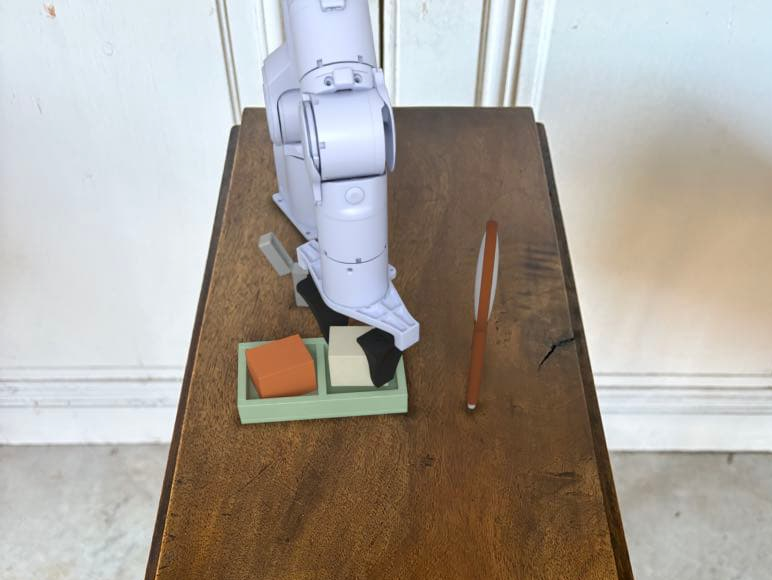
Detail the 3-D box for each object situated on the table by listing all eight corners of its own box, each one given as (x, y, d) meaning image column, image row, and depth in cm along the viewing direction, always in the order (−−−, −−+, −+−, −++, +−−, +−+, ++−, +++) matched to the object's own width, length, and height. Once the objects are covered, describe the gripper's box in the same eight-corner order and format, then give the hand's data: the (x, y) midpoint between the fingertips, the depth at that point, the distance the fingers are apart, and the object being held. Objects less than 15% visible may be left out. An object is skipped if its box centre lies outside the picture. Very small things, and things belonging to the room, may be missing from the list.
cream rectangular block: (388, 356, 79) (387, 325, 76) (388, 386, 77) (387, 356, 73) (332, 356, 79) (329, 325, 75) (331, 386, 77) (328, 356, 73)
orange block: (302, 363, 80) (298, 333, 77) (317, 390, 78) (313, 360, 75) (250, 380, 79) (244, 350, 75) (264, 407, 77) (258, 378, 73)
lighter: (336, 296, 86) (330, 233, 79) (334, 307, 85) (328, 244, 78) (271, 293, 86) (260, 230, 79) (268, 304, 85) (257, 241, 78)
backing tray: (242, 360, 81) (238, 342, 79) (399, 350, 82) (399, 332, 80) (241, 424, 76) (237, 406, 74) (407, 412, 77) (407, 394, 75)
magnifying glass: (476, 442, 75) (499, 269, 58) (458, 441, 75) (476, 267, 58) (483, 376, 80) (506, 197, 63) (466, 374, 80) (484, 196, 63)
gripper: (449, 264, 64) (441, 383, 75) (336, 181, 69) (345, 303, 81) (381, 304, 61) (384, 420, 73) (270, 214, 67) (289, 335, 78)
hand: (360, 361), depth 77 cm, fingers closed on cream rectangular block, 6 cm apart
